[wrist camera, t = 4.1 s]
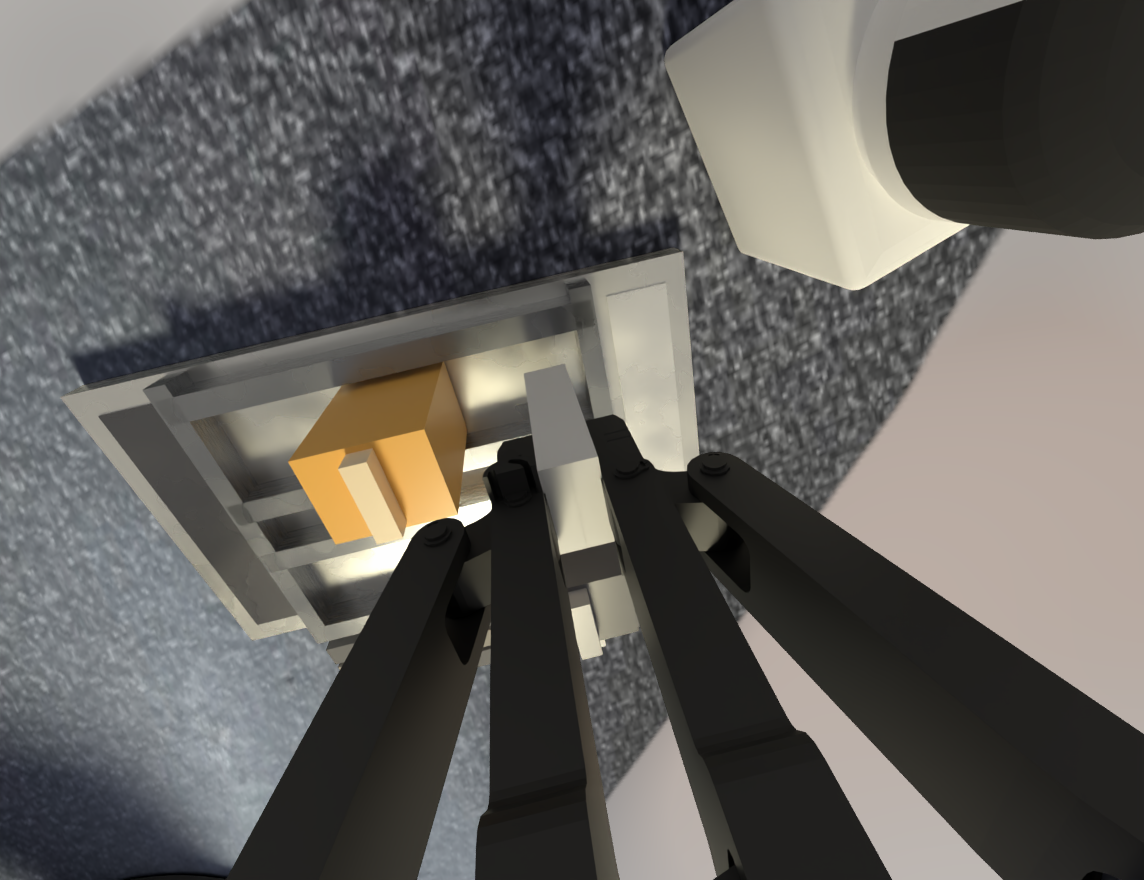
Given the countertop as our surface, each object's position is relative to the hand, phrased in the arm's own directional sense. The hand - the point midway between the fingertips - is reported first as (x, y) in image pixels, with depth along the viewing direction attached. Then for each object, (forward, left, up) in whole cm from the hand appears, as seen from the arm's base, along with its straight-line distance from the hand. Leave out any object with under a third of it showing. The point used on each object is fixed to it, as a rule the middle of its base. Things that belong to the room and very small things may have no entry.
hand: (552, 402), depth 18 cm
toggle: (-1, -7, -3) cm, 8 cm away
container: (+11, +8, -4) cm, 14 cm away
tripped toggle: (-6, 0, -3) cm, 6 cm away
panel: (-6, -3, -4) cm, 8 cm away
